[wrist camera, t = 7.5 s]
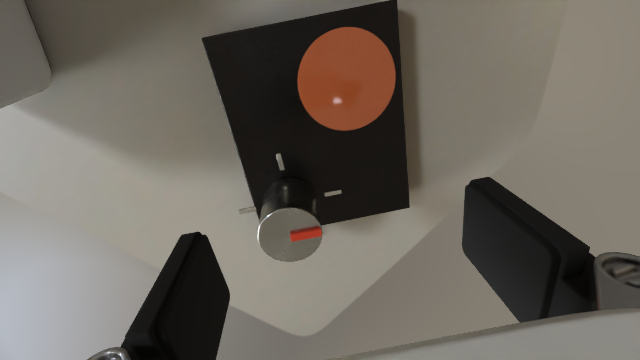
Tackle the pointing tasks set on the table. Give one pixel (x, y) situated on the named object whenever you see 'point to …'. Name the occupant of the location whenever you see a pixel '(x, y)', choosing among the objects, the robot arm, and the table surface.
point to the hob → (310, 117)
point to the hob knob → (289, 220)
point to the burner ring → (346, 78)
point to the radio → (20, 55)
